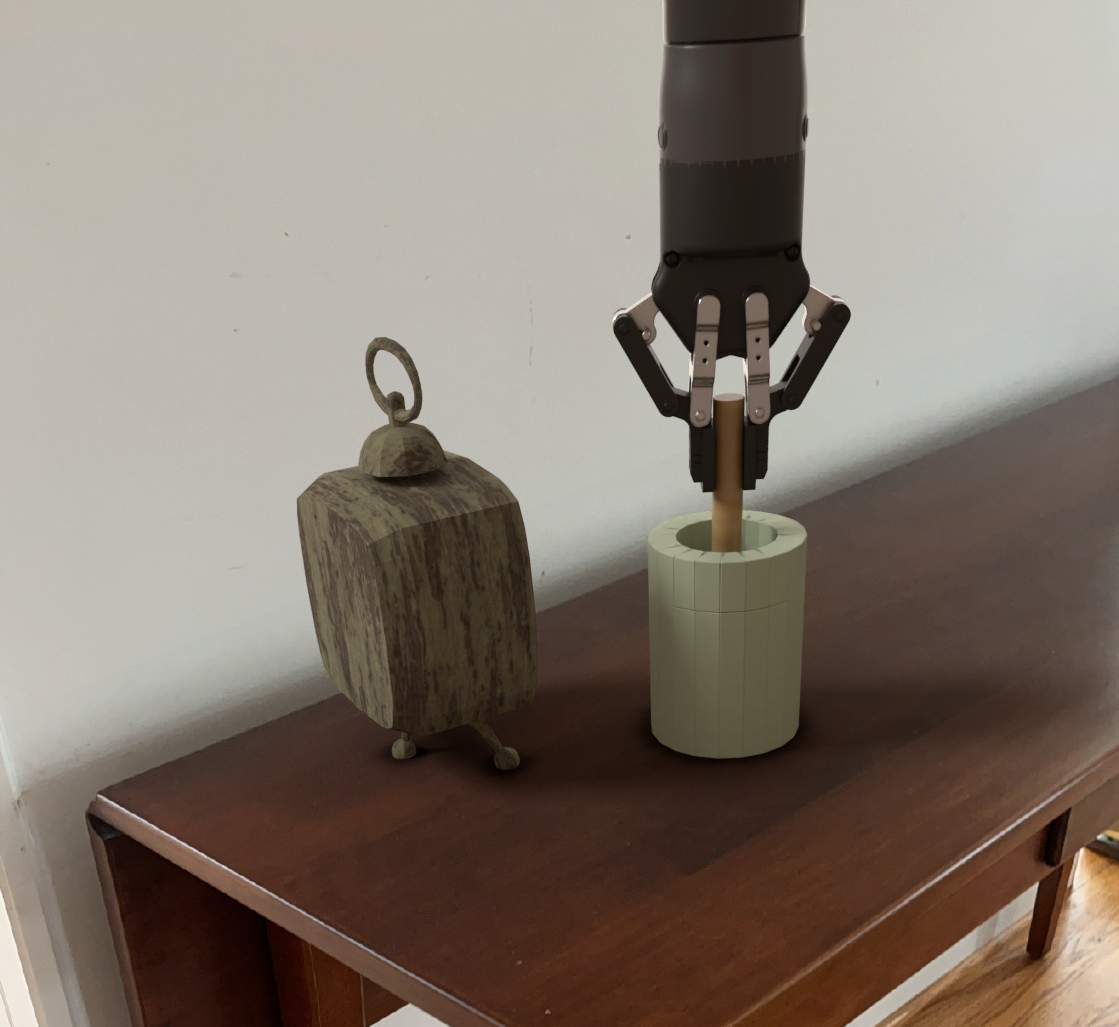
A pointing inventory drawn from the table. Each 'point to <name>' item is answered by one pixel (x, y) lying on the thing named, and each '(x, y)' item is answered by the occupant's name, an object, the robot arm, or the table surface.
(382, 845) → the table surface
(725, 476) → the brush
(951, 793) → the table surface
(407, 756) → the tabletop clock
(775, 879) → the table surface
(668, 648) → the cylindrical container
